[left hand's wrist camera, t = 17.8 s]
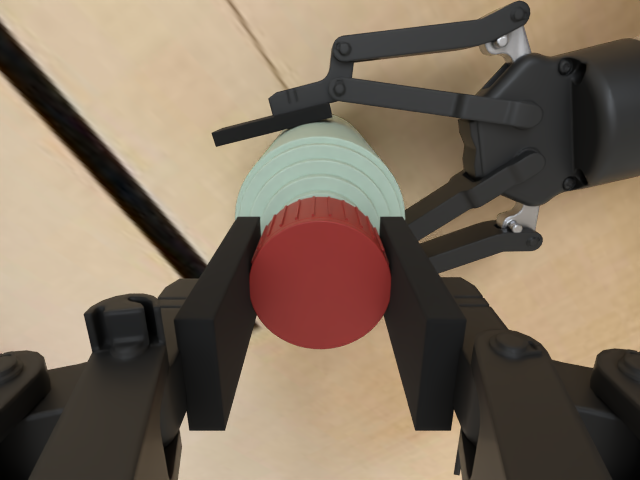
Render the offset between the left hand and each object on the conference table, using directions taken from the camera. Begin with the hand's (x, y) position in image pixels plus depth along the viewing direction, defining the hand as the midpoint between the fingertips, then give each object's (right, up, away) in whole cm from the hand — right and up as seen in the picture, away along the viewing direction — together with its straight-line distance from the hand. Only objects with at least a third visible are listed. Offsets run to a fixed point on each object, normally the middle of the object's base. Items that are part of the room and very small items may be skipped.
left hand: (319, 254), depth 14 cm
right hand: (-5, +3, +11) cm, 12 cm away
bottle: (0, +6, +16) cm, 17 cm away
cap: (0, 0, 0) cm, 0 cm away
